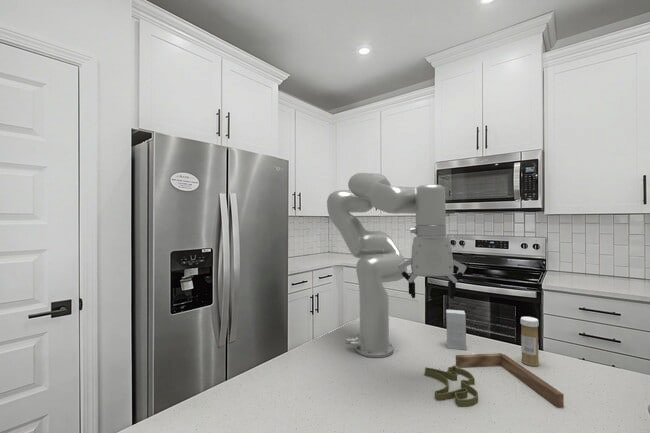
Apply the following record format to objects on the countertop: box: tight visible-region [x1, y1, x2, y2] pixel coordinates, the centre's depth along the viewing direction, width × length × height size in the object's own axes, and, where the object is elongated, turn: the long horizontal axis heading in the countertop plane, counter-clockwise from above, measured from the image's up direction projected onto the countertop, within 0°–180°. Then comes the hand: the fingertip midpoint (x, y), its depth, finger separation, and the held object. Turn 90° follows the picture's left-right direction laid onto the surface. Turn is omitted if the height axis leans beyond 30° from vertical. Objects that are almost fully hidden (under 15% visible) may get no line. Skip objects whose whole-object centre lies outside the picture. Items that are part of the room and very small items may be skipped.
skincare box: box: [445, 309, 467, 351], centre depth 111 cm, size 6×4×12 cm
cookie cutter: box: [424, 365, 479, 408], centre depth 85 cm, size 18×12×2 cm, turn 174°
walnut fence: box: [455, 352, 565, 408], centre depth 86 cm, size 15×23×3 cm, turn 4°
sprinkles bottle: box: [520, 316, 540, 367], centre depth 98 cm, size 5×5×14 cm
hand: (431, 297), depth 86 cm, fingers open, 9 cm apart
